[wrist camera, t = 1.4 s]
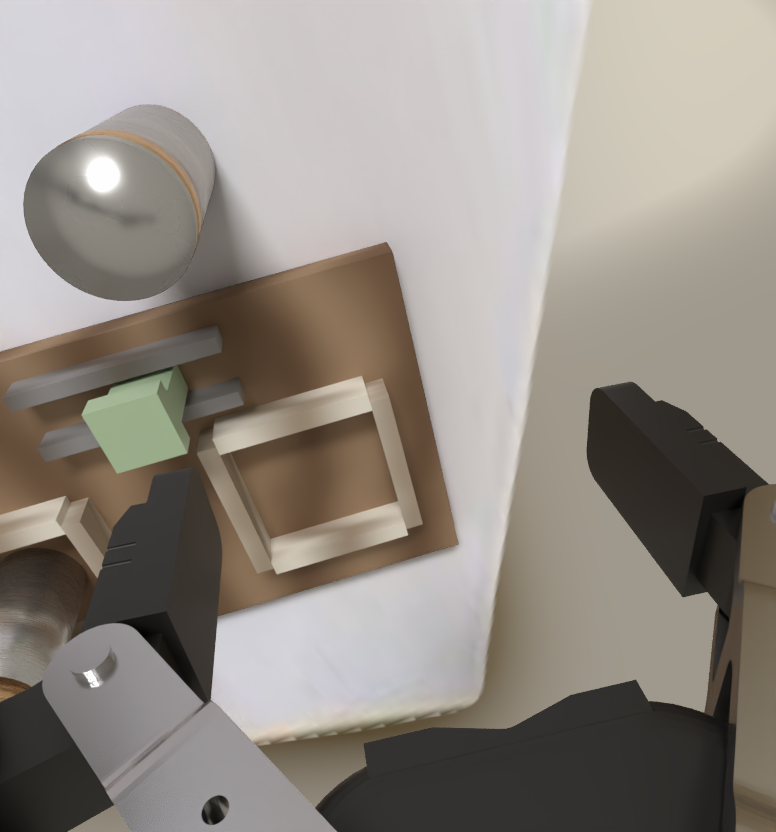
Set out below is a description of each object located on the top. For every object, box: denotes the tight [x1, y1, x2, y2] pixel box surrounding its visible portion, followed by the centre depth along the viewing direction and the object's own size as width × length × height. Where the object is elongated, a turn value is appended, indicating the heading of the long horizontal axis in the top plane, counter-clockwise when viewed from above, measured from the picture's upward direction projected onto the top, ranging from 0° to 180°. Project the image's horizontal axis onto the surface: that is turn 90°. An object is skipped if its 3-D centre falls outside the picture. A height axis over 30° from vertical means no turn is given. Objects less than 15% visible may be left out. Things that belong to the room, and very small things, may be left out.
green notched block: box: [82, 365, 190, 474], centre depth 28 cm, size 3×3×5 cm
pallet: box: [0, 242, 458, 641], centre depth 34 cm, size 30×20×4 cm, turn 103°
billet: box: [23, 104, 215, 301], centre depth 23 cm, size 5×5×10 cm
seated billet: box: [0, 548, 88, 702], centre depth 31 cm, size 5×5×10 cm
